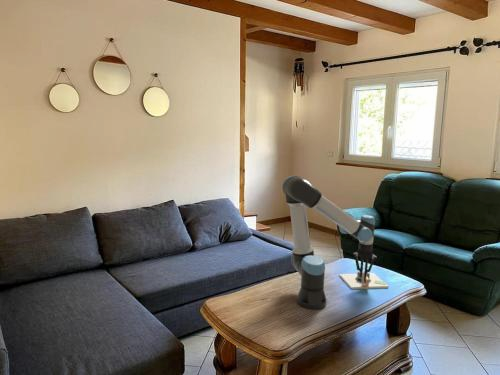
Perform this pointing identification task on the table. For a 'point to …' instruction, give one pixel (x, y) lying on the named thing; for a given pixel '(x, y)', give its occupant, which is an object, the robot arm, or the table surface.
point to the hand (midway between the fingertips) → (362, 282)
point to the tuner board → (356, 284)
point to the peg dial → (366, 280)
